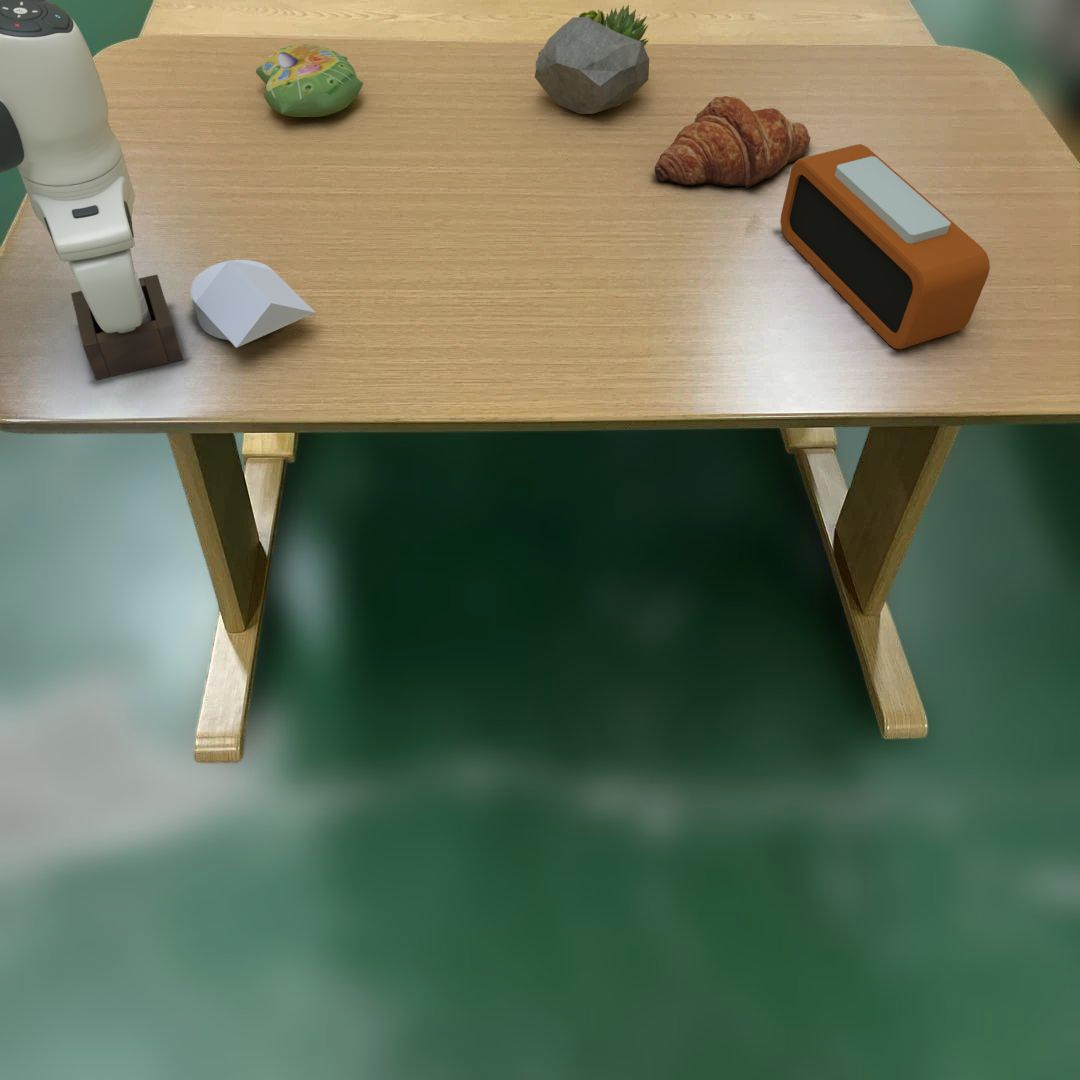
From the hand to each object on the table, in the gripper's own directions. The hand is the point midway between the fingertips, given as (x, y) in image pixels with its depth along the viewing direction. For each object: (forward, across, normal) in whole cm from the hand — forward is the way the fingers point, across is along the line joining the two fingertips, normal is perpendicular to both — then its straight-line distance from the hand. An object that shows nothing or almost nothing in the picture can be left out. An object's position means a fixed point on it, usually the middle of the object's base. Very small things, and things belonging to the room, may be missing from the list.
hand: (121, 309), depth 110 cm
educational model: (+5, -40, +29) cm, 50 cm away
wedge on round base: (+5, +1, +12) cm, 13 cm away
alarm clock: (+5, +18, +77) cm, 79 cm away
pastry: (+5, -8, +74) cm, 75 cm away
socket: (+4, 0, 0) cm, 5 cm away
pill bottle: (+3, 0, 0) cm, 3 cm away
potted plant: (+5, -28, +64) cm, 70 cm away
